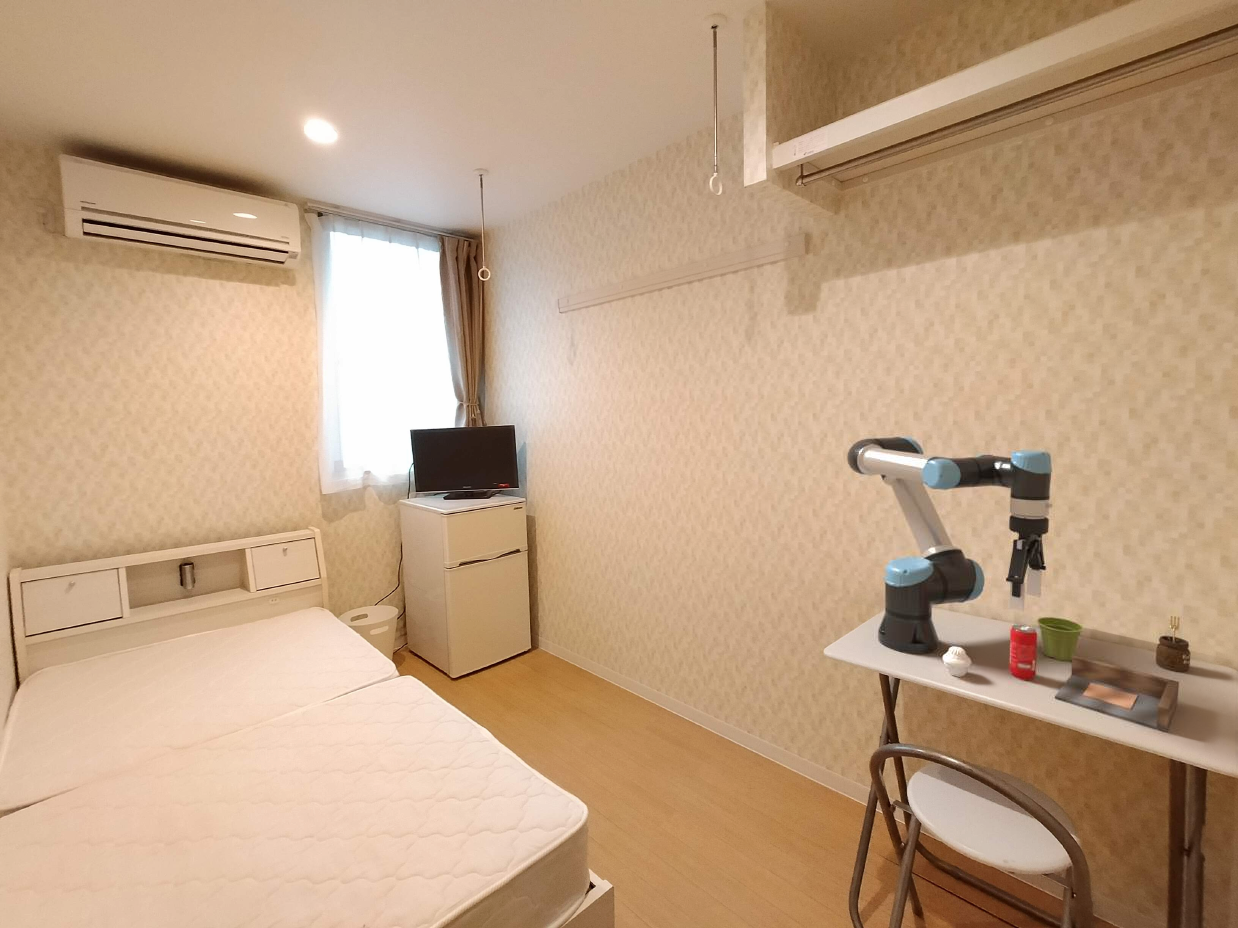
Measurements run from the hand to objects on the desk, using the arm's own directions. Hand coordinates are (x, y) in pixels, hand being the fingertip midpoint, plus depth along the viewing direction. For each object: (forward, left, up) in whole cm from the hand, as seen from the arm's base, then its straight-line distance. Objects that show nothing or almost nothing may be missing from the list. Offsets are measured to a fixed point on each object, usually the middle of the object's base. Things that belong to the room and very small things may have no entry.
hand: (1025, 602), depth 133 cm
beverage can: (0, 0, -19) cm, 19 cm away
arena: (+17, +1, -19) cm, 25 cm away
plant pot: (+3, +19, -19) cm, 27 cm away
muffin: (-11, -10, -19) cm, 24 cm away
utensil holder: (+23, +31, -19) cm, 43 cm away
